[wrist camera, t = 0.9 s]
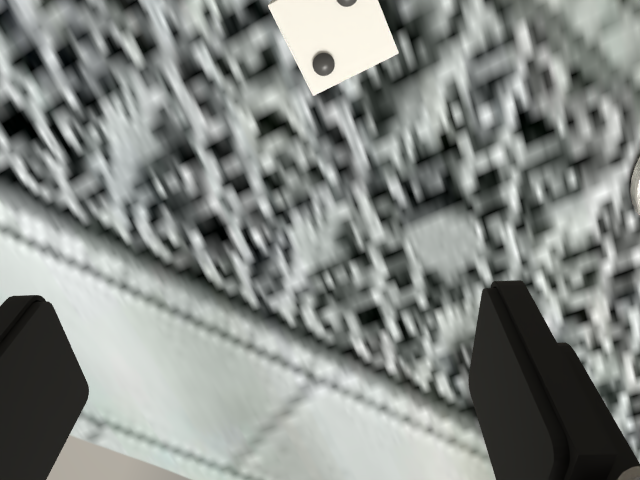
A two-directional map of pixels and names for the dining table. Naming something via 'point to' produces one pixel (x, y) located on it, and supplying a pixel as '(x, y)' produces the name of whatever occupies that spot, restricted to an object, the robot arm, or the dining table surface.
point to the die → (333, 37)
